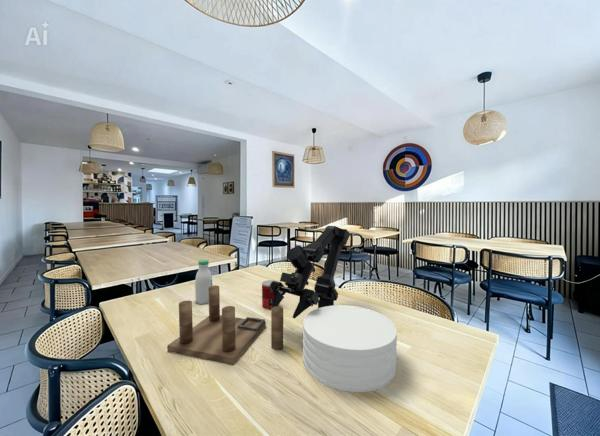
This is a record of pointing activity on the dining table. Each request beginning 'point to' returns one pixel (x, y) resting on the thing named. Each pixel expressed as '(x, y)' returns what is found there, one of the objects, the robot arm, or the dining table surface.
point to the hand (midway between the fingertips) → (282, 314)
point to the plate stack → (349, 347)
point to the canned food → (267, 294)
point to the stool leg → (277, 328)
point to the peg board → (215, 332)
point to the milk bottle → (203, 282)
